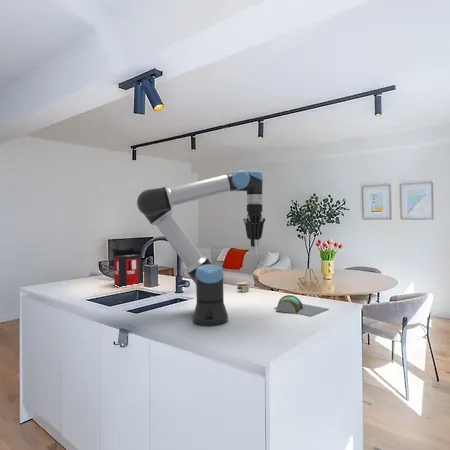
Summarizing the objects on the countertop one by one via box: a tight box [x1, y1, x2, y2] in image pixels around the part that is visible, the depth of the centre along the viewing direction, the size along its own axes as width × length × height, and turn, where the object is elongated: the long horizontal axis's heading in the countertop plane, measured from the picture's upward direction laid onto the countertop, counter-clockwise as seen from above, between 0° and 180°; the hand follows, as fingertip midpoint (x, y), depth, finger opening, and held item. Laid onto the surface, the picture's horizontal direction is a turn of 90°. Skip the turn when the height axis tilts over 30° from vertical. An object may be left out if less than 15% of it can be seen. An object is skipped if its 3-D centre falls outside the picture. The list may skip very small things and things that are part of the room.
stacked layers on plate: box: [236, 281, 250, 294], centre depth 210 cm, size 10×9×6 cm
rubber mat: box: [273, 303, 330, 317], centre depth 168 cm, size 16×20×1 cm
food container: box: [275, 294, 303, 314], centre depth 166 cm, size 12×6×10 cm
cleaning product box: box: [113, 253, 144, 287], centre depth 236 cm, size 16×9×20 cm, turn 130°
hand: (254, 253), depth 168 cm, fingers closed
